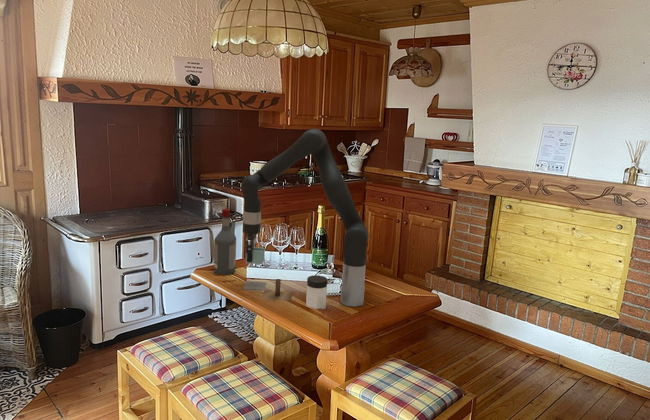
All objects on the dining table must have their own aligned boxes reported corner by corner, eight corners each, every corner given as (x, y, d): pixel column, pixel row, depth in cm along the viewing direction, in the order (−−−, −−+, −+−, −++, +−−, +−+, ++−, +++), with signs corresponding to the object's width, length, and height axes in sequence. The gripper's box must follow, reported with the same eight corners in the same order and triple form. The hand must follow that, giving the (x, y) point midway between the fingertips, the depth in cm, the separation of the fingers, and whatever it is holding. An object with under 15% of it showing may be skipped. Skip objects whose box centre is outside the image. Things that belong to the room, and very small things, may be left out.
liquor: (236, 268, 236) (237, 208, 230) (232, 275, 227) (234, 212, 221) (217, 267, 236) (218, 207, 229) (213, 274, 227) (213, 211, 221)
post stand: (292, 294, 210) (293, 276, 208) (291, 302, 201) (292, 284, 199) (264, 292, 209) (264, 275, 208) (261, 301, 201) (262, 282, 199)
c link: (245, 263, 208) (245, 250, 207) (247, 258, 214) (247, 246, 213) (262, 264, 209) (263, 251, 207) (264, 259, 214) (264, 247, 213)
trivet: (266, 284, 219) (266, 282, 218) (264, 292, 210) (264, 289, 210) (246, 283, 218) (246, 281, 218) (243, 291, 210) (243, 288, 209)
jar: (311, 312, 193) (313, 283, 190) (301, 304, 200) (302, 277, 197) (330, 308, 198) (332, 280, 195) (319, 301, 205) (321, 273, 202)
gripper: (258, 226, 201) (257, 265, 204) (262, 218, 215) (261, 254, 218) (240, 225, 200) (239, 264, 204) (245, 217, 214) (244, 253, 218)
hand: (250, 259), depth 211 cm, fingers closed on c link, 6 cm apart
